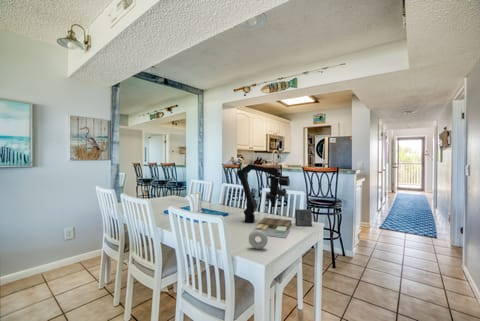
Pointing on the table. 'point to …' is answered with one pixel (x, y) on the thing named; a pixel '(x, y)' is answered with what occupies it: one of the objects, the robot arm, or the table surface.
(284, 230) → the sage tile
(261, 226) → the maple tile
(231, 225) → the table surface
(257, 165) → the robot arm
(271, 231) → the mat
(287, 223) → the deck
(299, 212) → the small box
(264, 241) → the donut
